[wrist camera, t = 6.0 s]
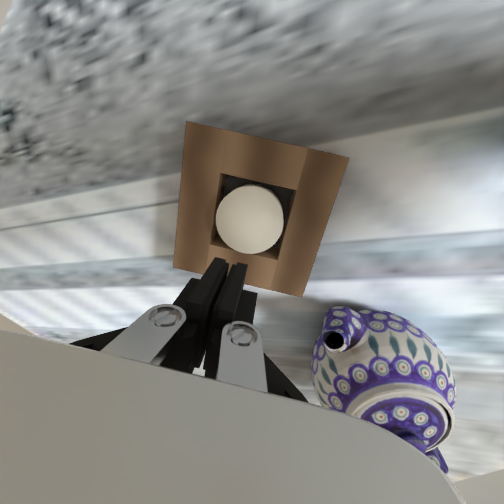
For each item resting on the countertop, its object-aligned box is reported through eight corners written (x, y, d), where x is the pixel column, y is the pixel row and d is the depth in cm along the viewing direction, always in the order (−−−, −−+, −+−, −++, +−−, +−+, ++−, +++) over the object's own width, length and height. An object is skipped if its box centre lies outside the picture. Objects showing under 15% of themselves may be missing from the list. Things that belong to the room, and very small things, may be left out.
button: (289, 191, 27) (291, 196, 23) (274, 248, 29) (274, 260, 26) (228, 177, 27) (221, 180, 24) (218, 235, 29) (211, 245, 26)
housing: (339, 157, 27) (349, 157, 23) (299, 281, 33) (302, 297, 29) (198, 125, 27) (186, 121, 23) (184, 254, 33) (173, 267, 29)
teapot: (447, 375, 36) (553, 513, 22) (352, 409, 40) (391, 541, 27) (369, 244, 30) (448, 320, 16) (267, 301, 34) (260, 398, 20)
